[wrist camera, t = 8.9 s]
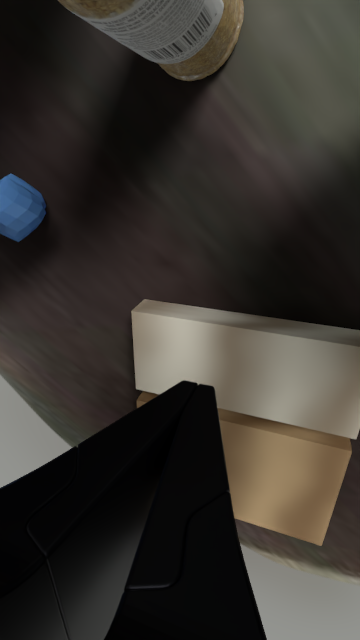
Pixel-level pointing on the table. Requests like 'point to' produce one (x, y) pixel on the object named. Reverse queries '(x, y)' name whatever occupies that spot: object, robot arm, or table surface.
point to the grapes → (19, 208)
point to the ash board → (252, 363)
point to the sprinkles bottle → (169, 30)
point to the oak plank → (281, 472)
